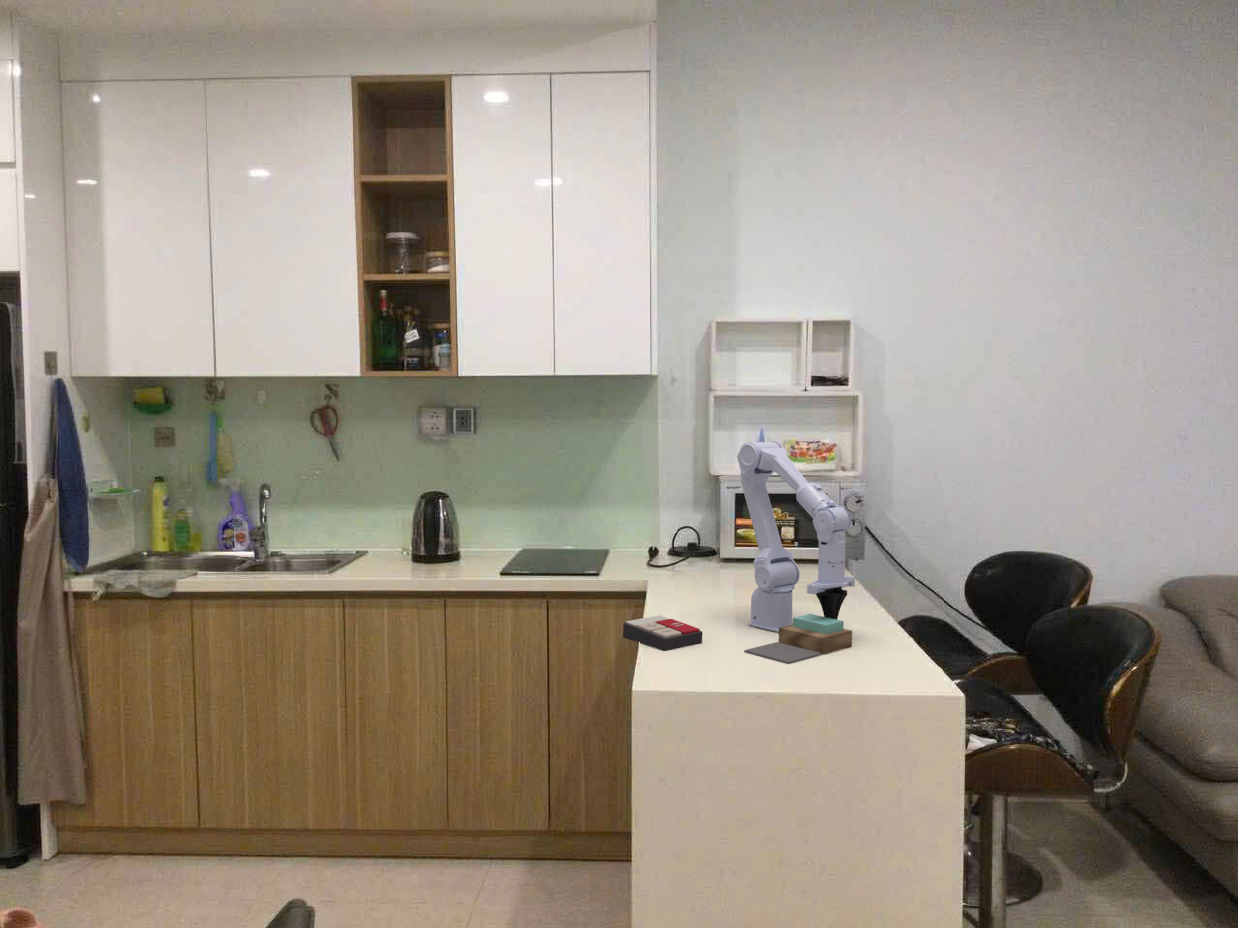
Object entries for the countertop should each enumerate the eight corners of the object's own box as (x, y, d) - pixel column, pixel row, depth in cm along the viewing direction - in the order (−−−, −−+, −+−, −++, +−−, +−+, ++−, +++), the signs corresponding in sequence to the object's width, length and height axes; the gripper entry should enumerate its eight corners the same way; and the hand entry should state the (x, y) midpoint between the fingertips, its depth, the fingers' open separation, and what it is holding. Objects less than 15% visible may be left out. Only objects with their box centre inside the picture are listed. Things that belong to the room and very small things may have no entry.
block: (792, 626, 202) (793, 617, 201) (810, 622, 205) (810, 613, 205) (826, 634, 195) (826, 625, 194) (843, 630, 198) (843, 620, 198)
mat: (744, 651, 194) (744, 650, 194) (777, 643, 201) (777, 641, 201) (788, 663, 185) (788, 662, 185) (821, 654, 191) (821, 653, 191)
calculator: (665, 635, 195) (622, 619, 207) (664, 655, 195) (622, 637, 207) (703, 628, 201) (660, 612, 213) (702, 647, 202) (659, 630, 214)
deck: (778, 643, 201) (778, 627, 201) (807, 636, 207) (807, 620, 207) (822, 654, 192) (823, 638, 192) (851, 646, 198) (852, 630, 198)
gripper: (825, 567, 194) (825, 630, 195) (866, 560, 204) (865, 620, 204) (799, 563, 200) (798, 624, 200) (840, 556, 209) (839, 614, 210)
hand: (830, 622), depth 203 cm, fingers closed
